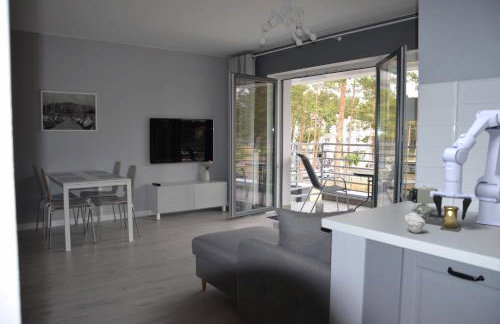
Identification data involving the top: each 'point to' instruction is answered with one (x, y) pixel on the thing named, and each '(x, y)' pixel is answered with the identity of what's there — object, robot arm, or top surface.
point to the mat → (451, 229)
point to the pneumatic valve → (422, 198)
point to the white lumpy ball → (414, 222)
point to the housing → (433, 218)
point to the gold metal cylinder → (450, 217)
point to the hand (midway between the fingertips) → (451, 217)
